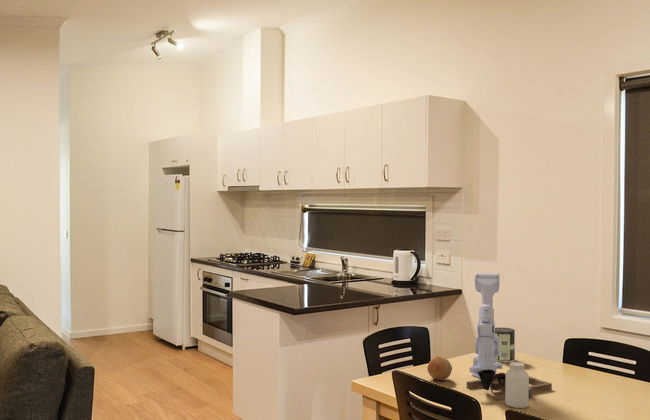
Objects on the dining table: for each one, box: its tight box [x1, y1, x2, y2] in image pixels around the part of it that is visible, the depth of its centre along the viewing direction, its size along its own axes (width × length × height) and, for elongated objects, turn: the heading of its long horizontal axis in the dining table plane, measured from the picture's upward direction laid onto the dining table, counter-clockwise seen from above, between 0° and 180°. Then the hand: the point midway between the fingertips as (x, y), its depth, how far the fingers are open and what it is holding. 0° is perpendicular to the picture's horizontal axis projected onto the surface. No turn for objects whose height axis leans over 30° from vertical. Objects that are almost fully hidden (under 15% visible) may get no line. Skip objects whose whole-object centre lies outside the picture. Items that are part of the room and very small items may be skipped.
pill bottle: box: [504, 361, 530, 409], centre depth 220 cm, size 8×8×15 cm
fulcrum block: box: [528, 387, 532, 399], centre depth 230 cm, size 3×3×3 cm
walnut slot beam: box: [466, 375, 553, 401], centre depth 239 cm, size 17×28×2 cm, turn 116°
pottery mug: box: [489, 372, 506, 392], centre depth 236 cm, size 12×10×8 cm
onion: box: [427, 355, 453, 381], centre depth 252 cm, size 10×10×10 cm
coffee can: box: [494, 327, 516, 363], centre depth 284 cm, size 10×10×14 cm
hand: (486, 389), depth 234 cm, fingers closed
